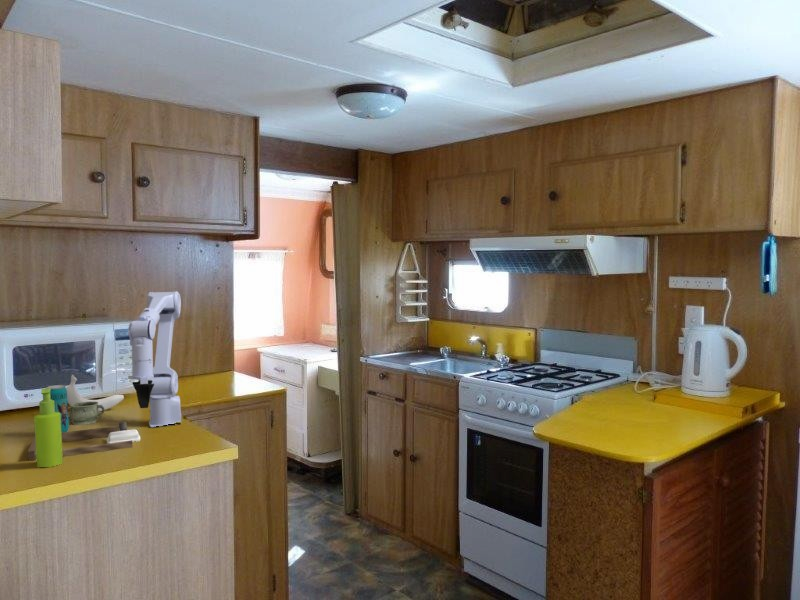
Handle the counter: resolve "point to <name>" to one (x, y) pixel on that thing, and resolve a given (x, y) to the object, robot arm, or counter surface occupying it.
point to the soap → (123, 436)
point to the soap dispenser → (48, 433)
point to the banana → (76, 398)
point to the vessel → (85, 412)
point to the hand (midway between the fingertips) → (143, 406)
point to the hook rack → (87, 435)
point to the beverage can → (60, 404)
